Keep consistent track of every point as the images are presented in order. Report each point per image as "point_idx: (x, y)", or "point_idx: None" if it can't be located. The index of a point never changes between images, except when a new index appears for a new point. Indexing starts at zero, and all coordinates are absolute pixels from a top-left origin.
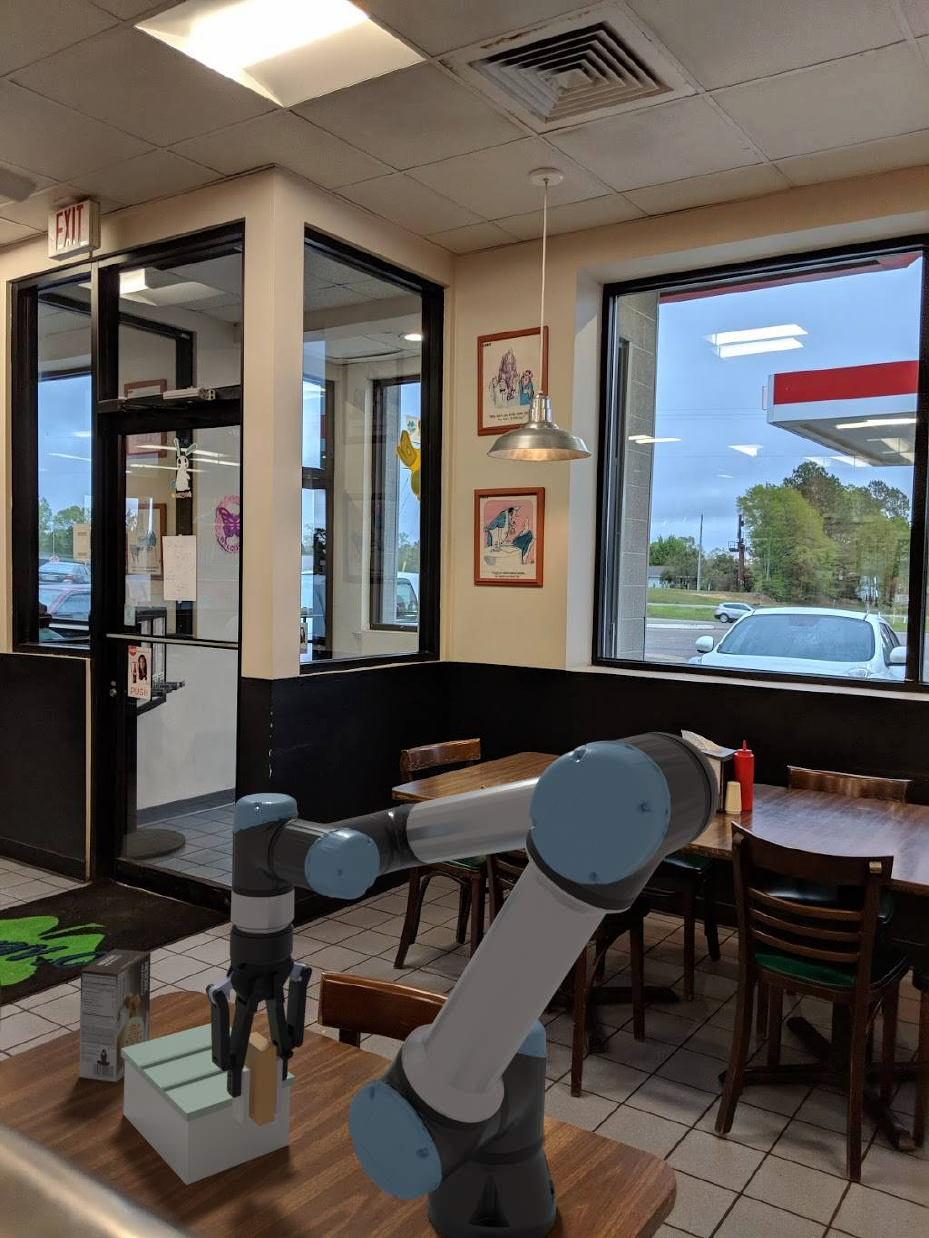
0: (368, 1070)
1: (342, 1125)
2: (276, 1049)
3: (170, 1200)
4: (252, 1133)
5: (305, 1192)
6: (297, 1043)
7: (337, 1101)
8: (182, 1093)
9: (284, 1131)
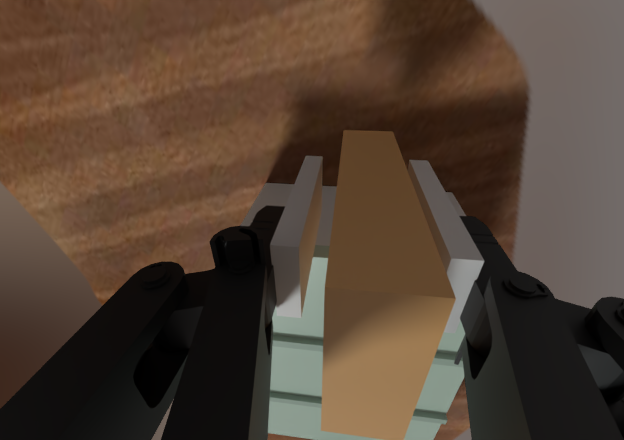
0: (90, 261)
1: (167, 174)
2: (270, 304)
3: (498, 173)
4: (330, 207)
5: (308, 32)
6: (166, 277)
7: (154, 229)
8: (455, 332)
9: (268, 194)
